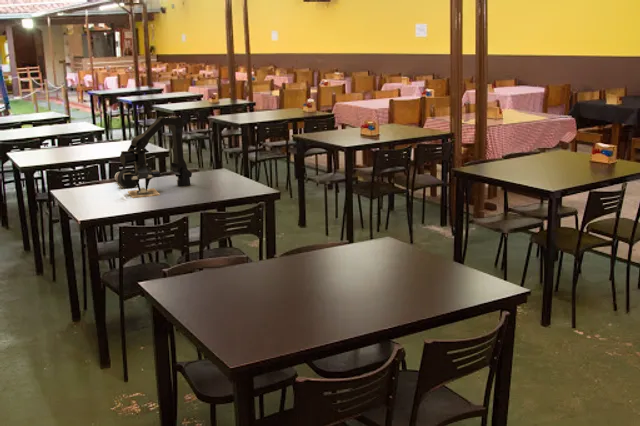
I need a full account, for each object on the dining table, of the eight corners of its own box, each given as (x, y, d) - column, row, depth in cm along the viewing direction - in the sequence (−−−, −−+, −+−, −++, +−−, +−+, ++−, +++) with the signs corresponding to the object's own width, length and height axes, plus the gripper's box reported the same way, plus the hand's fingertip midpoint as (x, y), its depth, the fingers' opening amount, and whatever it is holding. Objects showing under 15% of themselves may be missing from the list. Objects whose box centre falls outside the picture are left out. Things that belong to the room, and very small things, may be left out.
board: (154, 191, 378) (153, 184, 377) (160, 197, 362) (159, 190, 361) (128, 194, 373) (127, 186, 372) (132, 200, 356) (132, 192, 356)
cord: (146, 188, 372) (140, 186, 371) (148, 191, 366) (142, 188, 364) (143, 194, 372) (138, 191, 371) (145, 196, 366) (139, 193, 364)
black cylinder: (123, 187, 417) (129, 171, 417) (135, 190, 386) (142, 173, 387) (106, 181, 412) (113, 165, 413) (118, 184, 382) (124, 167, 383)
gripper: (124, 165, 354) (127, 195, 357) (160, 162, 360) (163, 191, 364) (121, 162, 364) (124, 191, 367) (157, 159, 370) (159, 188, 374)
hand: (143, 190), depth 368 cm, fingers closed on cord, 3 cm apart
